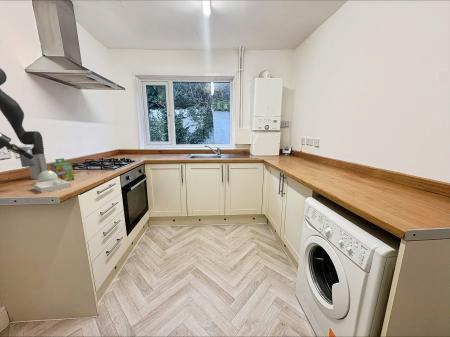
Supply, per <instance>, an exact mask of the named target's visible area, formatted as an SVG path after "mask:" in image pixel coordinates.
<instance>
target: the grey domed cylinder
mask: <svg viewBox="0 0 450 337" xmlns="http://www.w3.org/2000/svg"><path fill="white" fill-rule="evenodd" d="M20 148H22V149H23V150H24V151H26V152H27V153H28V154H30V155H32V150H31V149H32V147H31V146H23V147H22V146H21V147H20ZM22 152H23V151H21V152H20V153H22ZM18 155H19V160H20V164H21V167H22V168H27V167H28V168H29V167H30V166H35V164H34V159H33V158H32V159H29V158H27V157H25V156H22V155H21V154H18ZM32 156H33V155H32Z"/></svg>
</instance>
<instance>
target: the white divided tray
mask: <svg viewBox="0 0 450 337" xmlns="http://www.w3.org/2000/svg"><path fill="white" fill-rule="evenodd" d="M71 184H72V183H71V181H65V180H62V179H60V178H58V176H57V174H56V173H55V172H53V171H52V170H48V171H43V172H41V173H40V174H39V175H38V179H37V181H36V182H35V183H33V189H34V190H35V191H37V192H39V193H41V194H45V193H49V191H50V192H53V191H54V192H55V191H59V190H64V189H68V188H71V187H72V185H71Z"/></svg>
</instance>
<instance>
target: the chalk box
mask: <svg viewBox="0 0 450 337" xmlns="http://www.w3.org/2000/svg"><path fill="white" fill-rule="evenodd" d="M60 161H61V162H60ZM50 168H51V171H53V172H55V173H56V174H57V176H58V178H60V179H62V180H65V181H68V182H71V181H74V180H75V176H74V170H73V164H72V163H70V162H66V161H65V159H64V158H63V157H62V158H56V159H55V163H51V164H50Z"/></svg>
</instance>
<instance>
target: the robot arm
mask: <svg viewBox="0 0 450 337" xmlns="http://www.w3.org/2000/svg"><path fill="white" fill-rule="evenodd" d="M7 79H8V78H7V74H6V72H5V70H3V69H2V68H1V67H0V86H3V85H4V84H5V83H6V81H7ZM0 112H1V114H2V115H3V116H4V117H5V119H6V120H7V121H8V123H9V125H10V126H11V127H12V130H13V131H14V133H15V136H16V137H17V139H18V140H19V142H20V143H21V144H22V145H26V146H28V145H29V146H31V145H32V146H33V147H31V150H32V155H33V156H32V155H30V154H28V153H27V152H26V151H24V150H23V149H22V148H20V147H19V146H18V145H17V144H16V143H10V142H11V141H12V137H11V138H10V137H9V136H7V135H6V134H4V133H2V132H0V150H1V149H3V148H6V150H7V151H10V152H12V153H14V154H17V155H19V154H21V155H22V156H25V157H27V158H29V159H32V158H33V159H34V164H35V166H30V167H28V168H29V174H30V177H31V180H38V175H39V174H40V173H41V172H43V171H49V170H48V166H47V165H48V164H47V161H46V157H45V156H46V155H45V149H44V141H43V136H42V134H41V132H39V131H37V130H33V131H32V130H30V131H29V130H27V131H26V129H24V127H23V121H24V118H25V113H24V110H23V109H22V107H21V106H20V104H19V103H18V102H17V101H16V100H15V99H14V98H13V97H11V96H9V95H8V94H7V93H6V92H4V91H3V90H2V89H1V88H0ZM21 151H23V152H22V153H20V152H21Z"/></svg>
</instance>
